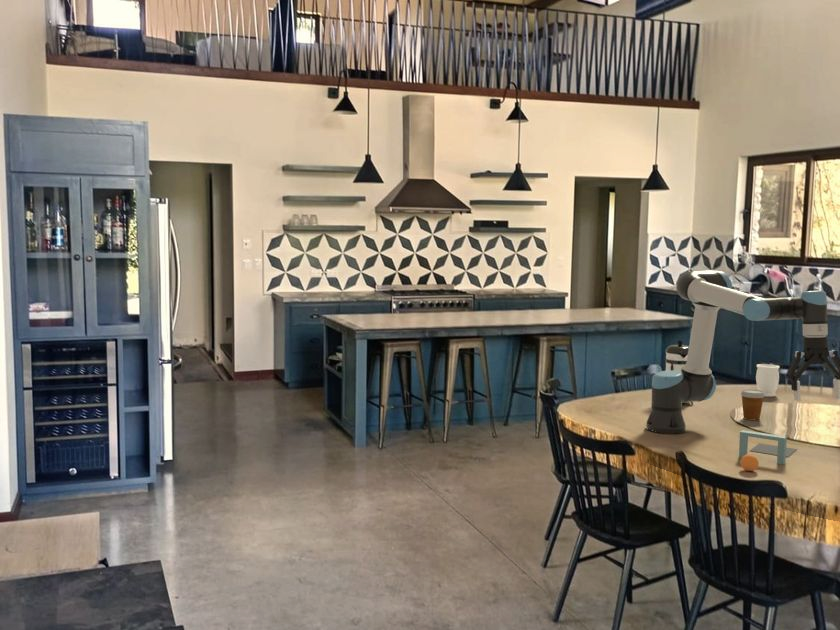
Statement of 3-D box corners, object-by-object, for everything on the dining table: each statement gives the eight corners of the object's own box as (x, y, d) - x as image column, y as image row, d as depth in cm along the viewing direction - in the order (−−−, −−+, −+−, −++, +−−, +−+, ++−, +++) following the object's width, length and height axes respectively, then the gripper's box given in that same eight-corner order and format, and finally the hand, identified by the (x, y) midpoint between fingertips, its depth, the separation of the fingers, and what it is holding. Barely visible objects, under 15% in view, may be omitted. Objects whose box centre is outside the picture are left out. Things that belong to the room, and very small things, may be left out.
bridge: (738, 457, 269) (739, 431, 268) (741, 455, 271) (742, 430, 270) (783, 464, 260) (784, 438, 259) (785, 462, 262) (786, 436, 261)
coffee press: (702, 403, 358) (705, 340, 355) (681, 407, 349) (684, 342, 346) (671, 397, 372) (673, 336, 370) (650, 401, 363) (652, 338, 360)
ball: (738, 471, 252) (738, 455, 252) (742, 467, 257) (743, 451, 256) (755, 474, 249) (756, 457, 248) (760, 470, 253) (760, 454, 253)
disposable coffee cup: (738, 419, 326) (739, 392, 325) (740, 415, 334) (741, 388, 333) (762, 422, 321) (764, 394, 320) (764, 417, 330) (765, 390, 329)
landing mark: (749, 451, 277) (749, 450, 277) (759, 443, 287) (759, 443, 287) (788, 457, 269) (788, 456, 269) (796, 449, 279) (796, 449, 279)
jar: (782, 397, 373) (783, 367, 372) (760, 397, 373) (762, 367, 372) (772, 393, 384) (773, 363, 382) (751, 393, 384) (752, 363, 382)
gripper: (784, 338, 253) (786, 402, 254) (858, 335, 254) (860, 399, 254) (773, 337, 261) (775, 399, 261) (845, 334, 261) (847, 396, 262)
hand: (817, 399), depth 258 cm, fingers open, 13 cm apart
